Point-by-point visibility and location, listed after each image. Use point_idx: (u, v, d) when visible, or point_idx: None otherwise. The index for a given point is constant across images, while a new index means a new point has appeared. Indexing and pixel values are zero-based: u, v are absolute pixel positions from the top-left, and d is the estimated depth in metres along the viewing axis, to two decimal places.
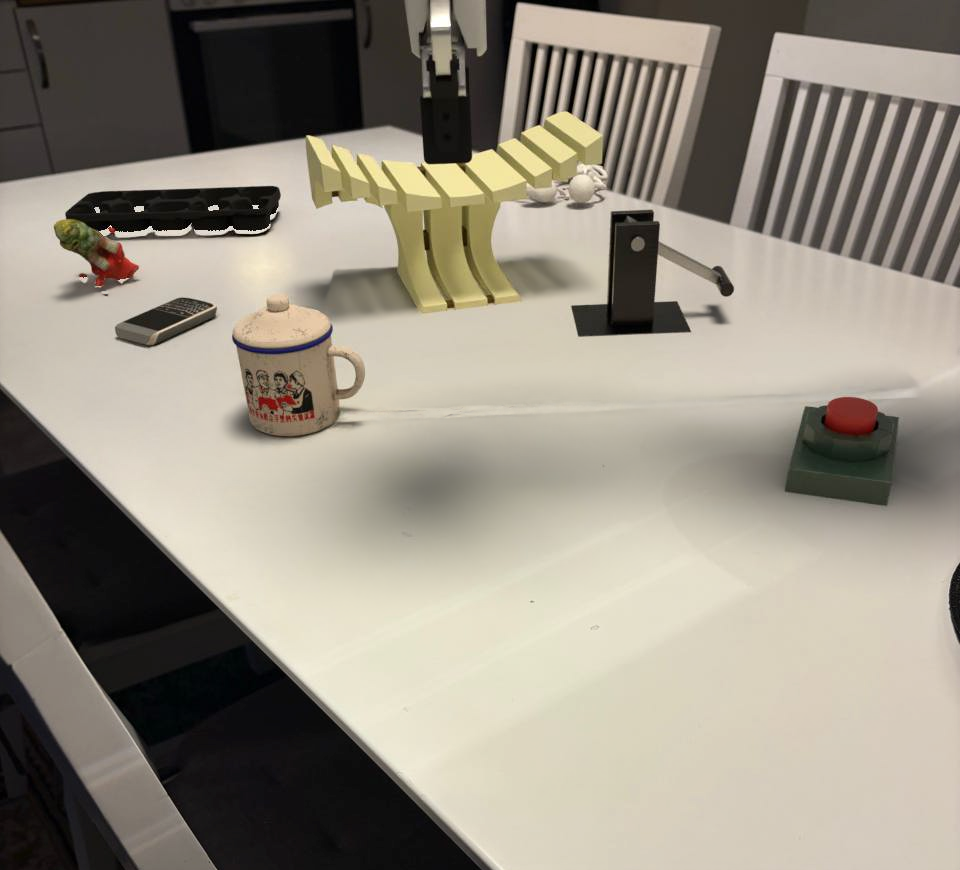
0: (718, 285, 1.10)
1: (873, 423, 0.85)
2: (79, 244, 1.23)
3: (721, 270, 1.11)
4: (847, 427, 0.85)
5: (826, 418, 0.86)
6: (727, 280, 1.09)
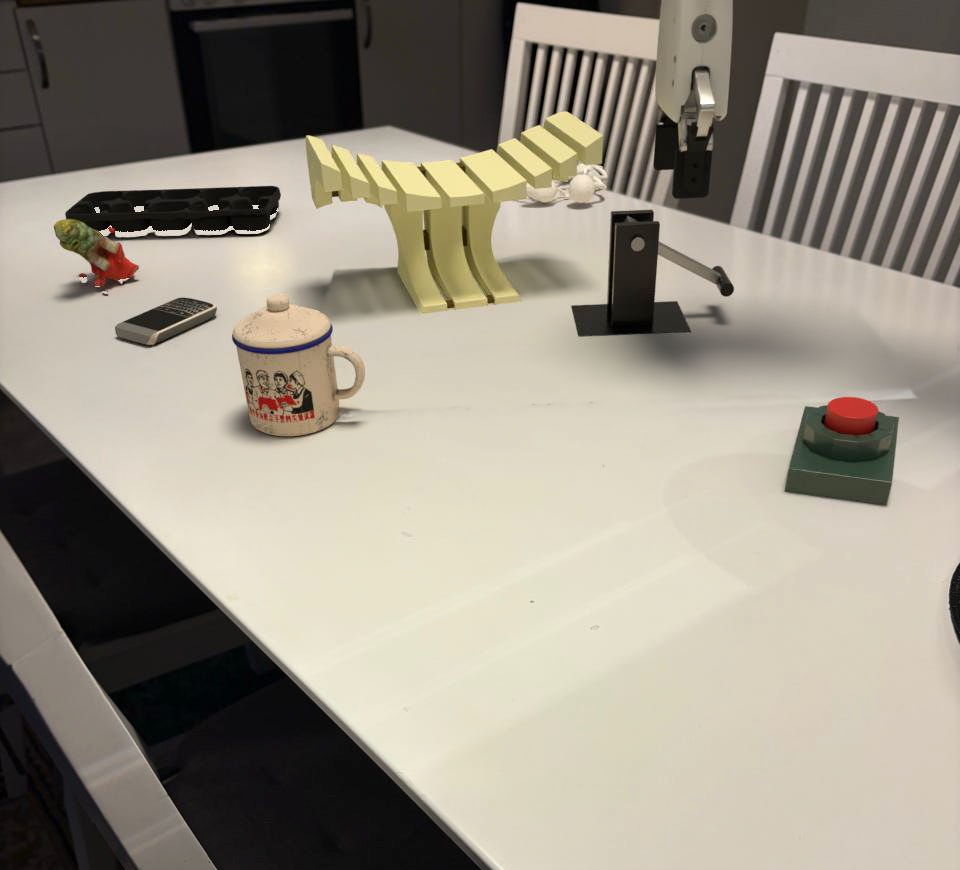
0: (718, 285, 1.10)
1: (873, 423, 0.85)
2: (79, 244, 1.23)
3: (721, 270, 1.11)
4: (847, 427, 0.85)
5: (826, 418, 0.86)
6: (727, 280, 1.09)
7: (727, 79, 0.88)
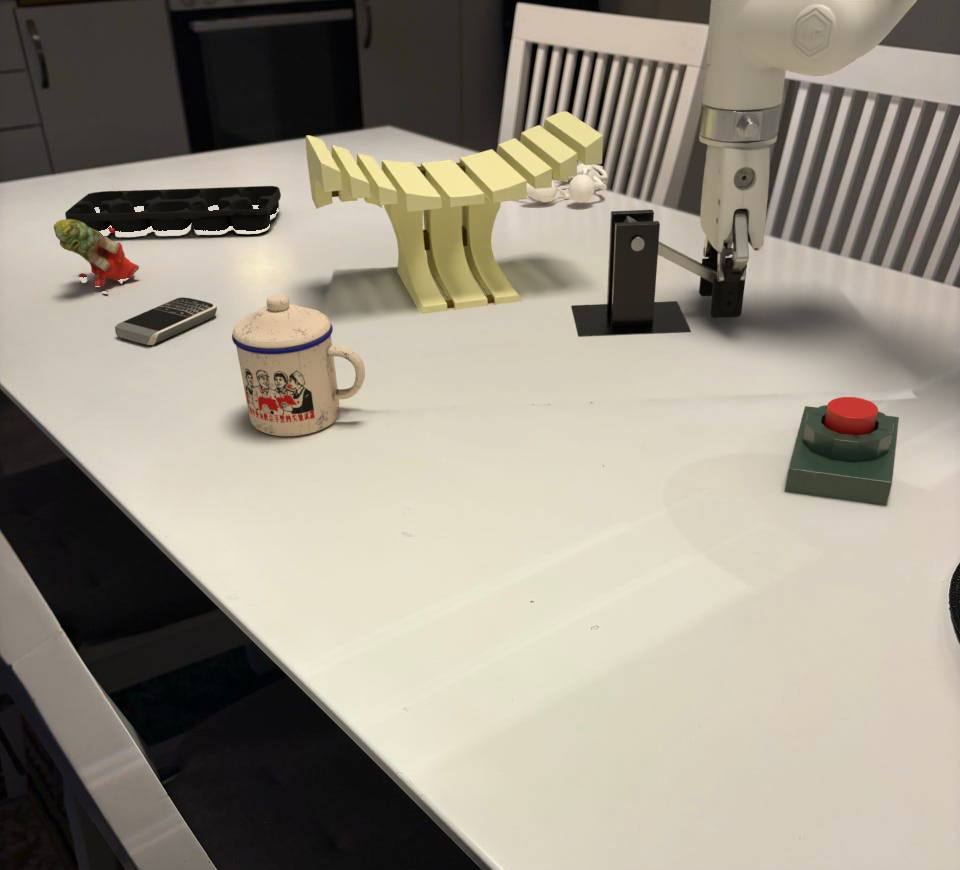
0: None
1: (873, 423, 0.85)
2: (79, 244, 1.23)
3: None
4: (847, 427, 0.85)
5: (826, 418, 0.86)
6: None
7: (764, 219, 1.02)
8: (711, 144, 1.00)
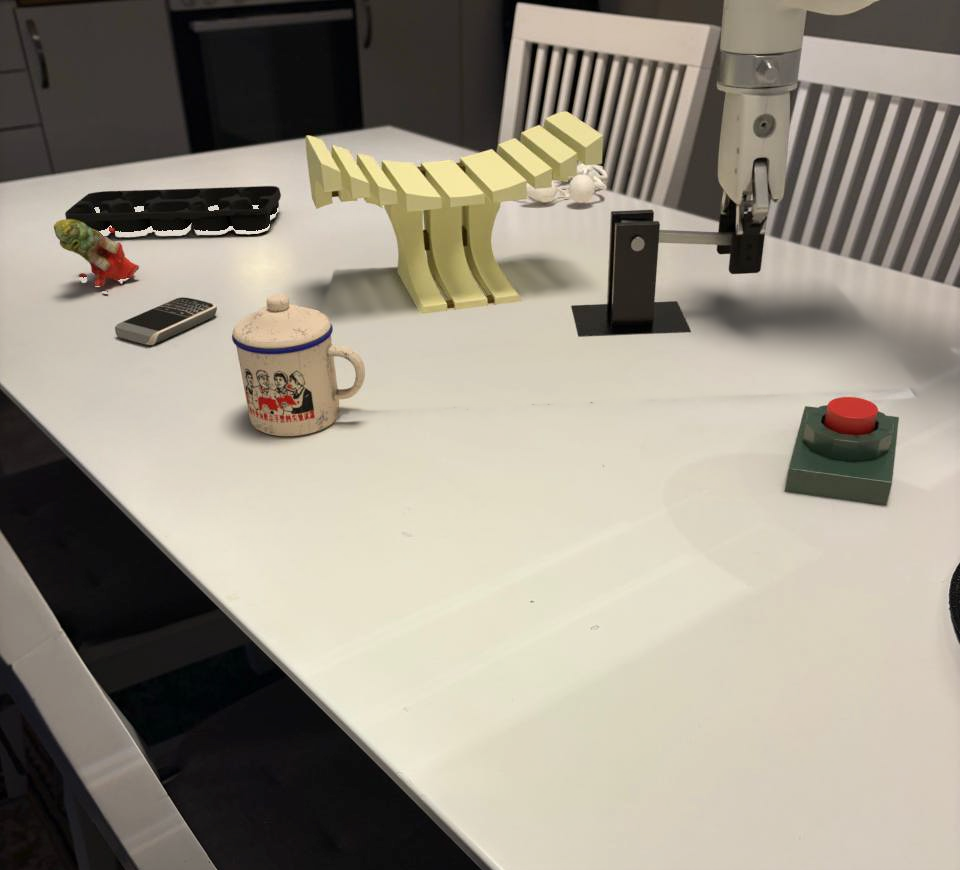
0: None
1: (873, 423, 0.85)
2: (79, 244, 1.23)
3: (735, 228, 1.09)
4: (847, 427, 0.85)
5: (826, 418, 0.86)
6: None
7: (784, 168, 0.99)
8: (729, 91, 0.98)
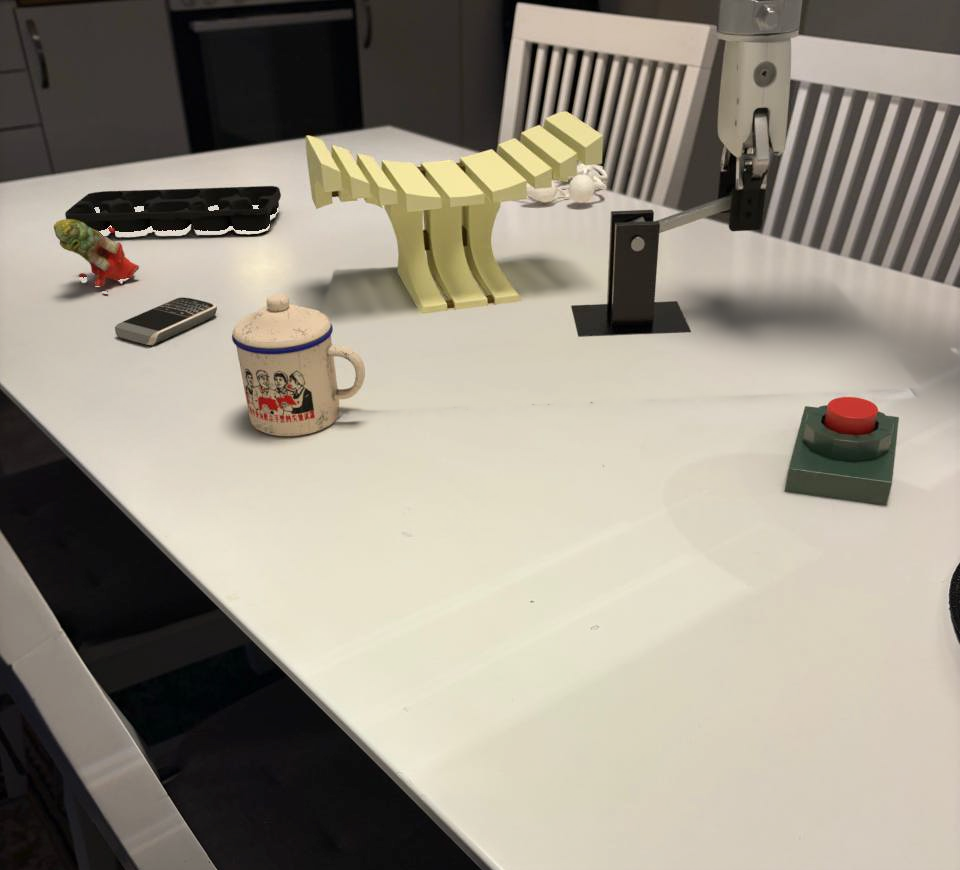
0: None
1: (873, 423, 0.85)
2: (79, 244, 1.23)
3: None
4: (847, 427, 0.85)
5: (826, 418, 0.86)
6: None
7: (785, 119, 0.97)
8: (729, 39, 0.95)
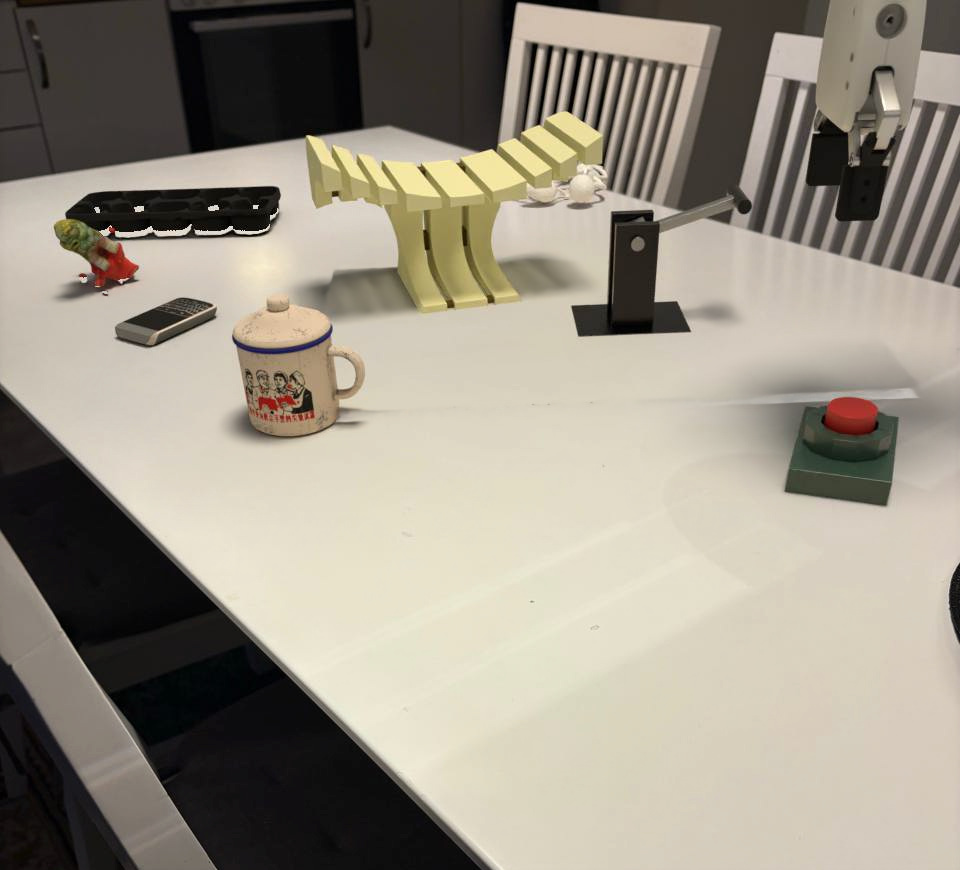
0: (736, 208, 1.05)
1: (873, 423, 0.85)
2: (79, 244, 1.23)
3: (733, 190, 1.06)
4: (847, 427, 0.85)
5: (826, 418, 0.86)
6: (739, 198, 1.04)
7: (913, 81, 0.74)
8: None
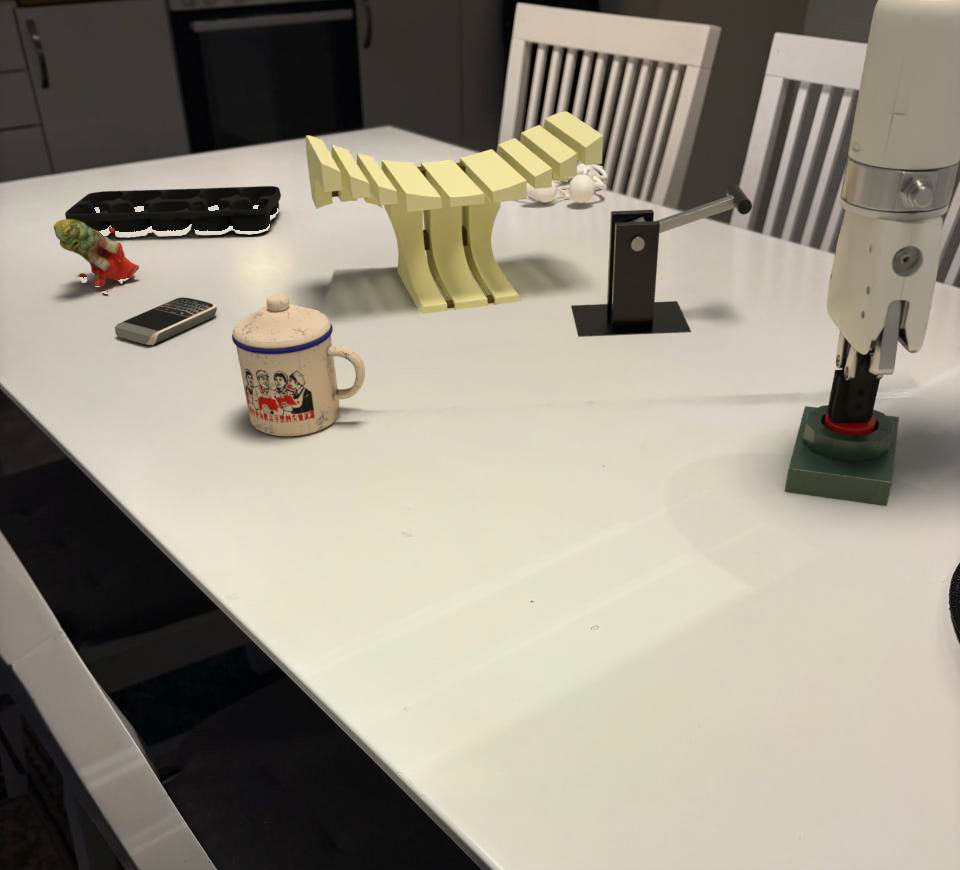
0: (736, 208, 1.05)
1: None
2: (79, 244, 1.23)
3: (733, 190, 1.06)
4: None
5: None
6: (739, 198, 1.04)
7: (928, 313, 0.76)
8: (861, 213, 0.74)
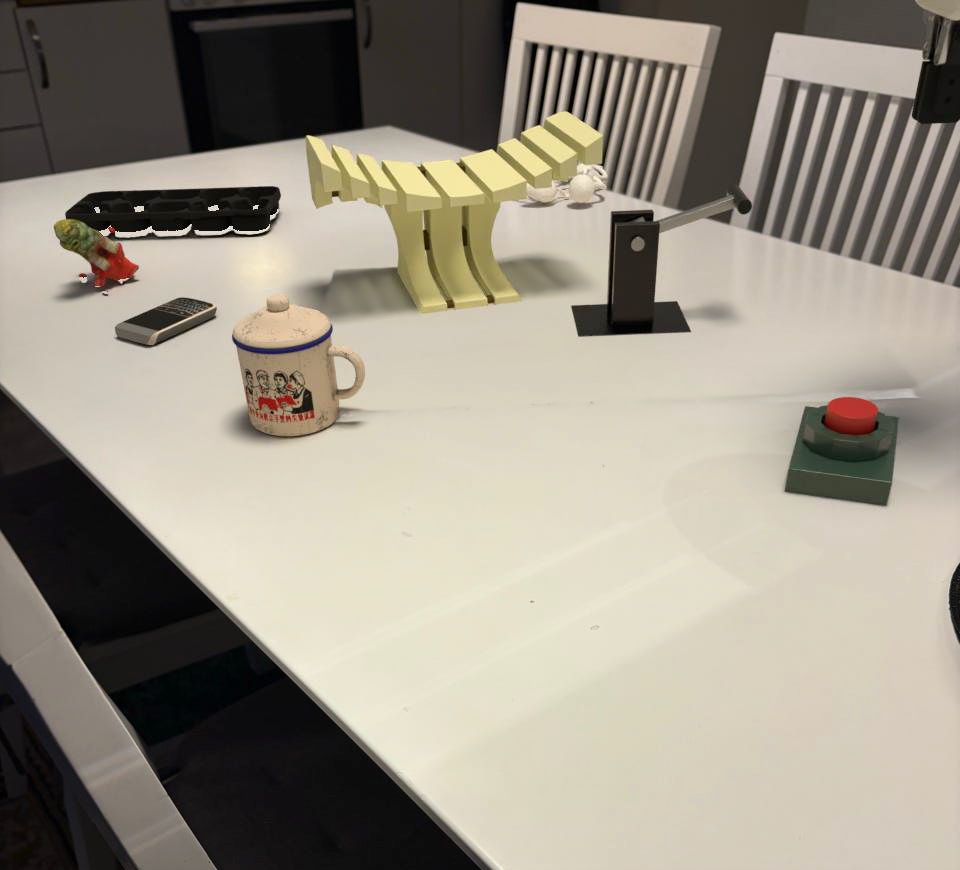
0: (736, 208, 1.05)
1: (873, 423, 0.85)
2: (79, 244, 1.23)
3: (733, 190, 1.06)
4: (847, 427, 0.85)
5: (826, 418, 0.86)
6: (739, 198, 1.04)
7: None
8: None
